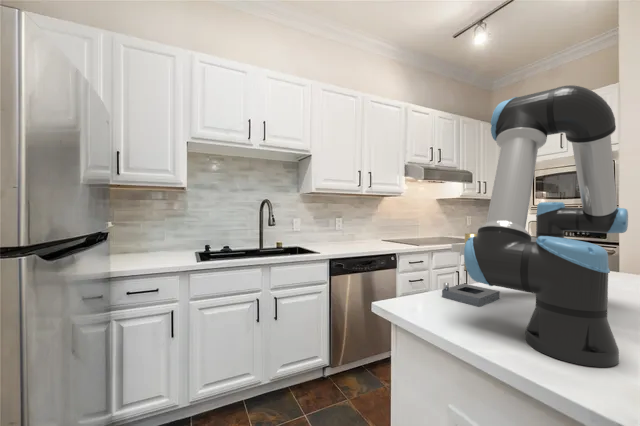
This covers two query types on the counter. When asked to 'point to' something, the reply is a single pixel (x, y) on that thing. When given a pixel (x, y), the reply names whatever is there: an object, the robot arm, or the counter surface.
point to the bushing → (467, 236)
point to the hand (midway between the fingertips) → (456, 249)
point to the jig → (470, 294)
